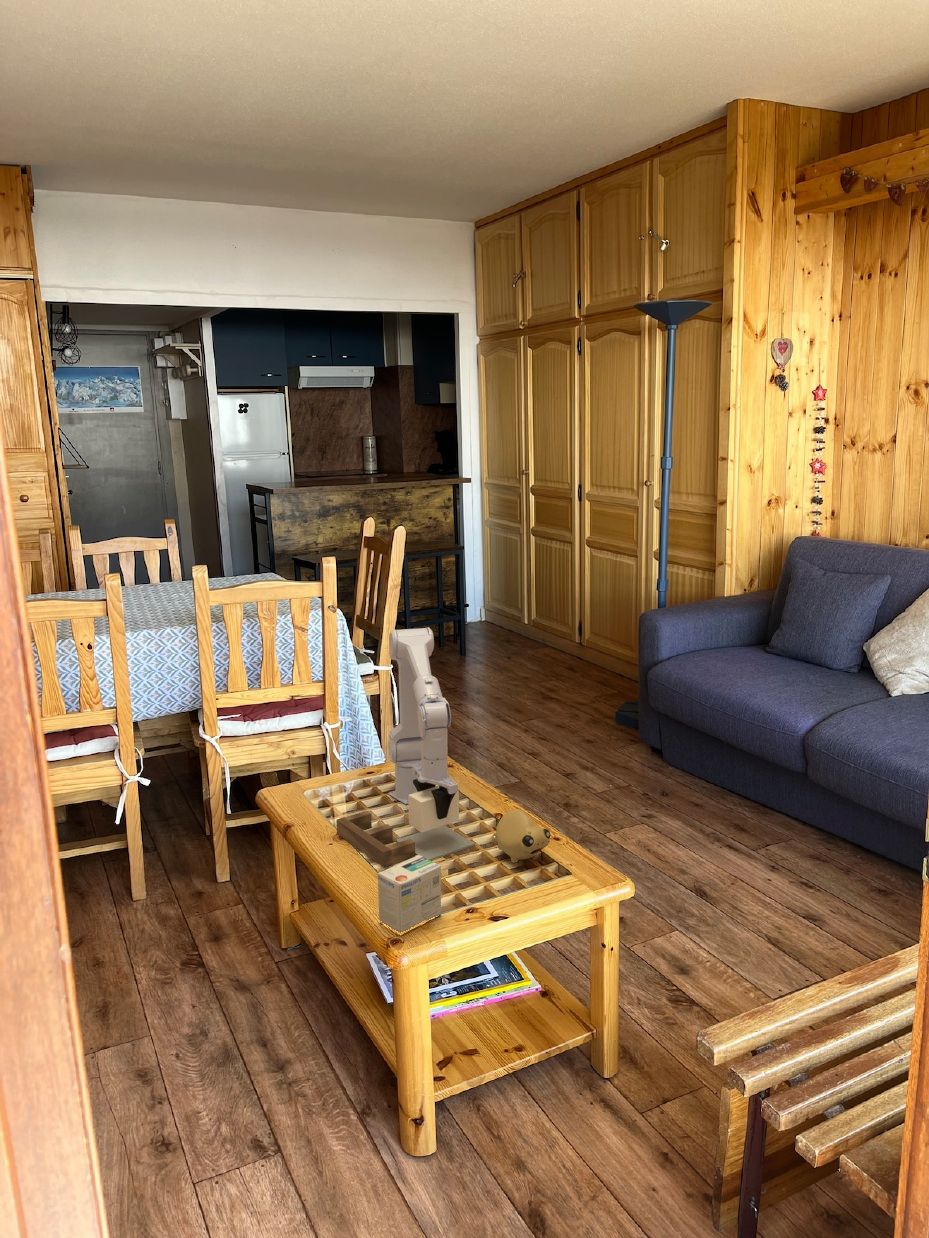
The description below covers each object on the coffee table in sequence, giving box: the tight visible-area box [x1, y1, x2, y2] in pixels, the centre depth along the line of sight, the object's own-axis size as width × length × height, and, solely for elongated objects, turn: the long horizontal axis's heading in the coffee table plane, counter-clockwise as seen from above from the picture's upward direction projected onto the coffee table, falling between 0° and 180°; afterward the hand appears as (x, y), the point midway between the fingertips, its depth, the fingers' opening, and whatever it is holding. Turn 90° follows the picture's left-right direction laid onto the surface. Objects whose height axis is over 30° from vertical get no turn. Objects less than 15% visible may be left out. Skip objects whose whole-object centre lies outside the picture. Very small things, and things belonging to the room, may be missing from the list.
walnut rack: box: [336, 810, 416, 868], centre depth 211 cm, size 8×20×4 cm, turn 37°
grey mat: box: [395, 825, 476, 862], centre depth 212 cm, size 13×12×1 cm
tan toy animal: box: [495, 808, 551, 863], centre depth 204 cm, size 10×12×11 cm
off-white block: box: [408, 785, 460, 832], centre depth 210 cm, size 10×5×7 cm, turn 127°
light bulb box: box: [377, 855, 442, 933], centre depth 180 cm, size 11×7×11 cm, turn 134°
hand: (434, 813), depth 210 cm, fingers closed on off-white block, 5 cm apart
